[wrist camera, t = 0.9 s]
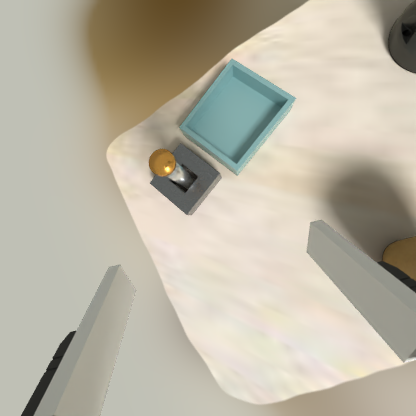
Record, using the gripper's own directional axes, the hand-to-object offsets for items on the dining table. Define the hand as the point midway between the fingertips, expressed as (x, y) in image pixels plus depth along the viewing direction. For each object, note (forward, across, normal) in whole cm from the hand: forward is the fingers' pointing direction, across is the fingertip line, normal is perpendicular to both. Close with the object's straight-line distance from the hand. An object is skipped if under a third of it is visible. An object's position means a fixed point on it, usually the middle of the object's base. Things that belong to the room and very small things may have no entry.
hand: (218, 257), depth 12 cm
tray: (+34, +10, +5) cm, 36 cm away
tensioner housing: (+30, -3, -5) cm, 31 cm away
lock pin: (+30, -3, -5) cm, 31 cm away
